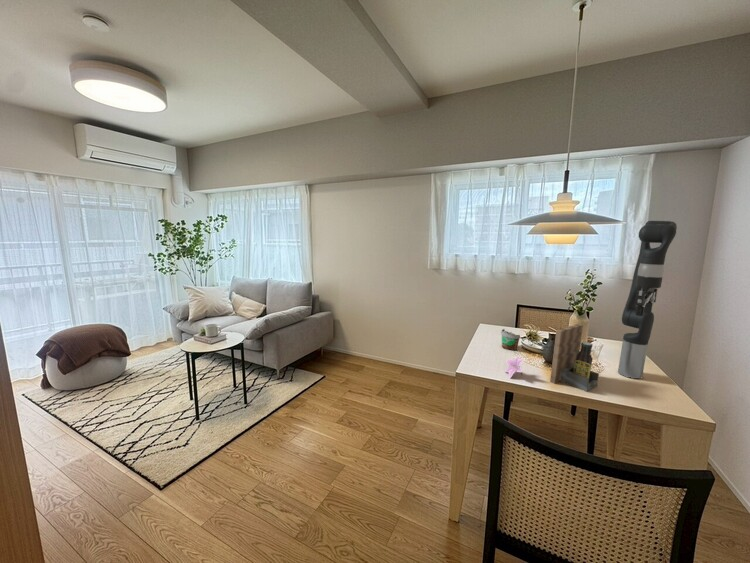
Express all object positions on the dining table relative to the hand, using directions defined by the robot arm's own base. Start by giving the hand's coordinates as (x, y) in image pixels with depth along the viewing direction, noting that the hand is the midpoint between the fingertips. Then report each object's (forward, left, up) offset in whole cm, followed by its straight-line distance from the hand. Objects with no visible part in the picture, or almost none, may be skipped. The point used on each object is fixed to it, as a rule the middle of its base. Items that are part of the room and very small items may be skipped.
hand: (643, 314), depth 122 cm
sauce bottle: (+8, -16, -36) cm, 40 cm away
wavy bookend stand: (+8, -18, -36) cm, 41 cm away
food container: (-1, -60, -36) cm, 70 cm away
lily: (+26, -37, -36) cm, 58 cm away
